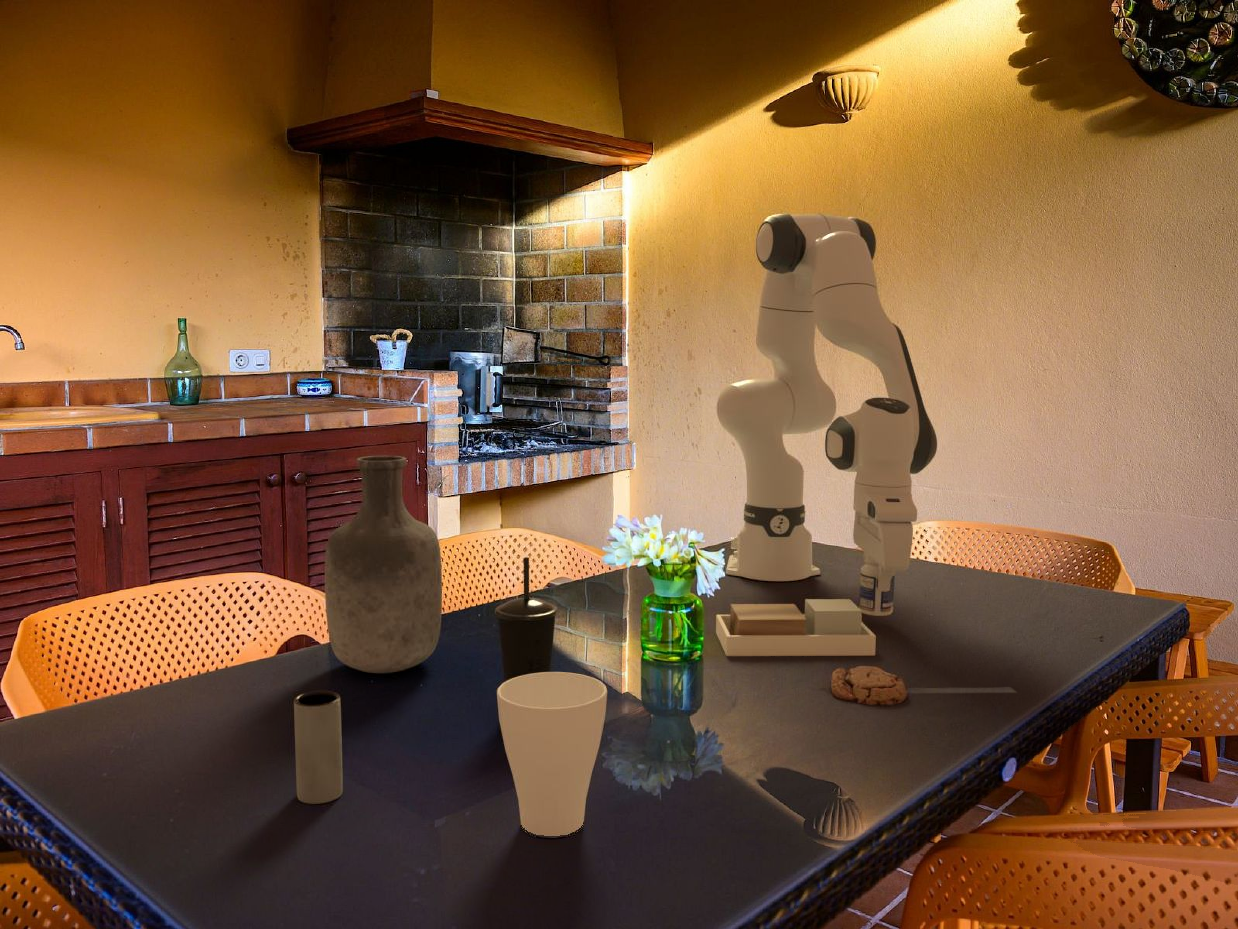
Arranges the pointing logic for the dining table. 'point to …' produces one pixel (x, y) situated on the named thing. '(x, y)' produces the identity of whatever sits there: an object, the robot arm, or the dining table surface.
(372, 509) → the vase
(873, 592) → the pill bottle
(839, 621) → the pale green block
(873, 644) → the box
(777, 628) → the walnut block
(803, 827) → the dining table surface
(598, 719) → the cup
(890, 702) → the cookie
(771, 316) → the robot arm
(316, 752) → the planter
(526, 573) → the drinking cup
